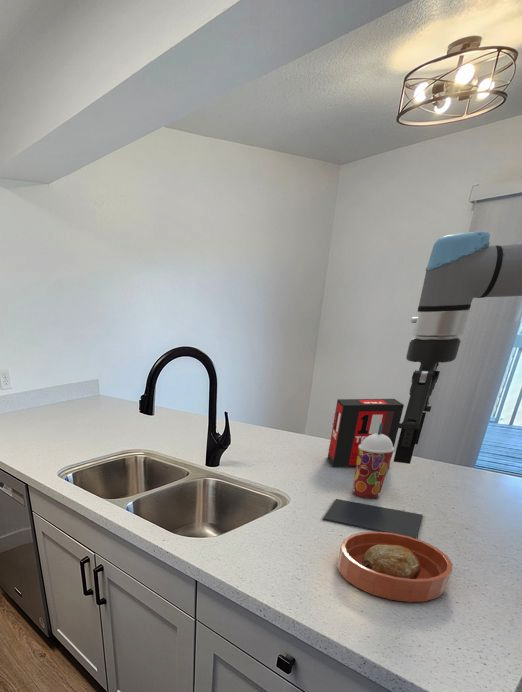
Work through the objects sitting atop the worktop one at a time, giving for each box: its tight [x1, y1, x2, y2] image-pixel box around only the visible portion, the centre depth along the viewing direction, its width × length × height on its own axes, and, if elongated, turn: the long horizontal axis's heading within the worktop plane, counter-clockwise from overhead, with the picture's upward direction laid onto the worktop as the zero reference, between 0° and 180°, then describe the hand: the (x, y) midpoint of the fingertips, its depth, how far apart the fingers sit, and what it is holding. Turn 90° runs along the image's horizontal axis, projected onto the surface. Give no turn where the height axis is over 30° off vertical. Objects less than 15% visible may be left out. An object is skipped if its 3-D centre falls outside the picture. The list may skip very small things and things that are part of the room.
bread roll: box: [362, 545, 421, 579], centre depth 86 cm, size 10×10×8 cm
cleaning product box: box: [327, 398, 405, 469], centre depth 140 cm, size 16×9×20 cm, turn 77°
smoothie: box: [352, 423, 395, 499], centre depth 117 cm, size 8×8×20 cm
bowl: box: [336, 531, 454, 603], centre depth 86 cm, size 19×19×5 cm
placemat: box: [322, 498, 423, 539], centre depth 109 cm, size 20×14×1 cm
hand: (406, 452), depth 87 cm, fingers open, 13 cm apart
